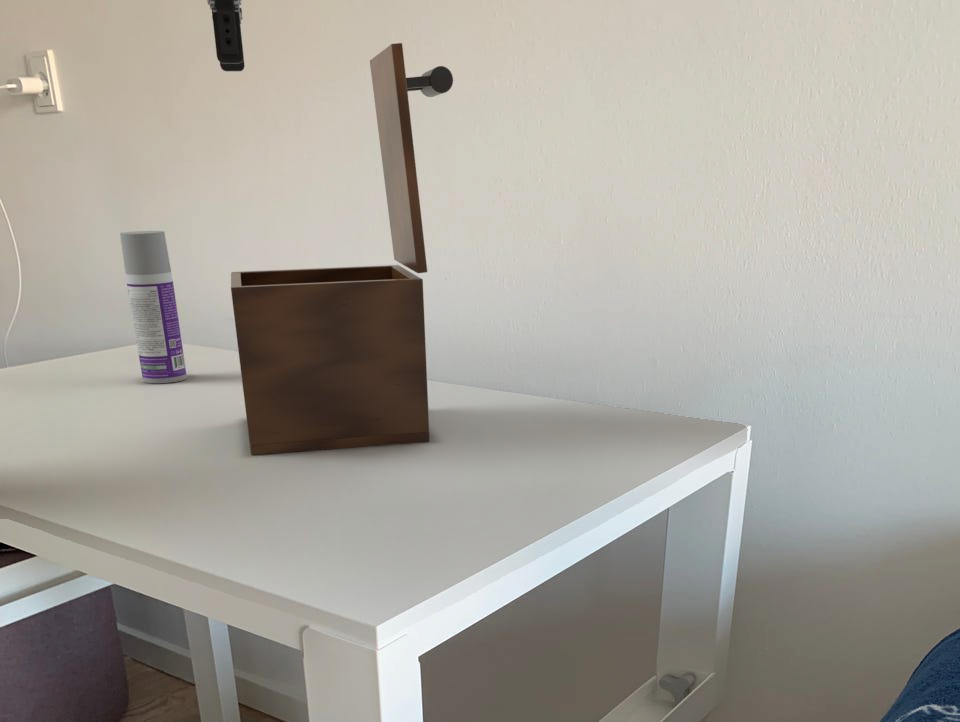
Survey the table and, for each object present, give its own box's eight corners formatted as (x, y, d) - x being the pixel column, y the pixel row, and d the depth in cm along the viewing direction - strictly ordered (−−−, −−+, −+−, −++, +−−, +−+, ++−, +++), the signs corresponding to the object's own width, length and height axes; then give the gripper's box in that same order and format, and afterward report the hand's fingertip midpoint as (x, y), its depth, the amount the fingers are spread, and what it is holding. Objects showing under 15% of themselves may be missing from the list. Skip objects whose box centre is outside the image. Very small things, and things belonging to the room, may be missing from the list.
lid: (391, 43, 71) (460, 37, 71) (369, 60, 82) (429, 54, 83) (417, 273, 78) (480, 265, 78) (394, 259, 89) (449, 253, 89)
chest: (251, 455, 81) (230, 287, 75) (248, 420, 92) (230, 271, 86) (429, 441, 83) (422, 279, 78) (406, 409, 94) (398, 264, 89)
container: (175, 373, 113) (154, 230, 107) (194, 379, 110) (173, 231, 103) (135, 379, 110) (111, 232, 104) (153, 385, 107) (129, 234, 101)
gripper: (167, -137, 88) (193, 74, 95) (152, -188, 75) (183, 60, 82) (254, -135, 89) (273, 73, 96) (253, -184, 77) (276, 60, 84)
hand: (232, 67), depth 89 cm, fingers open, 8 cm apart
